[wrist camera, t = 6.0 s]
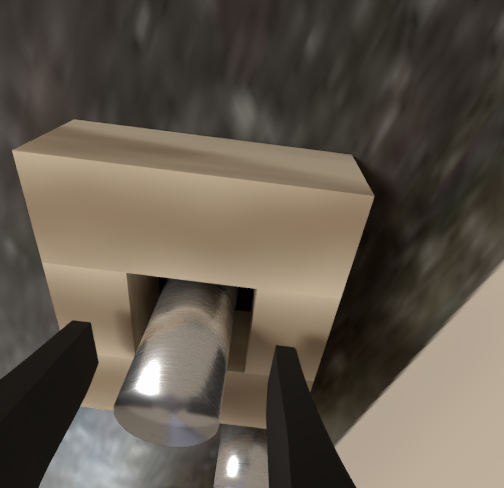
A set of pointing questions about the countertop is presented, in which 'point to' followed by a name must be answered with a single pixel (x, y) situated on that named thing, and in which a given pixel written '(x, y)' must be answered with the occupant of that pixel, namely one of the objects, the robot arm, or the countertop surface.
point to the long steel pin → (180, 366)
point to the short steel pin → (242, 458)
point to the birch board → (193, 242)
